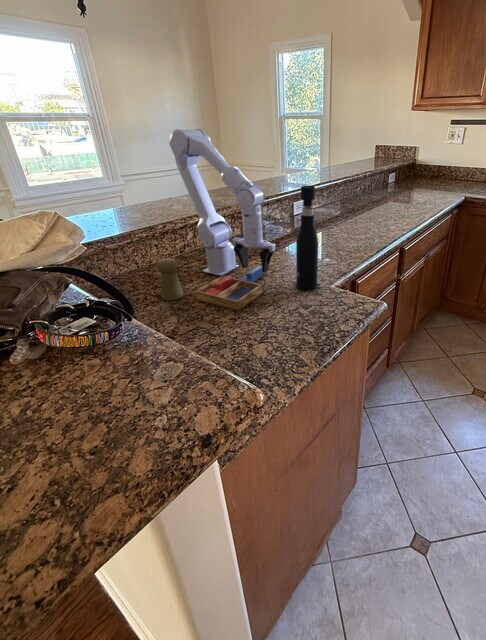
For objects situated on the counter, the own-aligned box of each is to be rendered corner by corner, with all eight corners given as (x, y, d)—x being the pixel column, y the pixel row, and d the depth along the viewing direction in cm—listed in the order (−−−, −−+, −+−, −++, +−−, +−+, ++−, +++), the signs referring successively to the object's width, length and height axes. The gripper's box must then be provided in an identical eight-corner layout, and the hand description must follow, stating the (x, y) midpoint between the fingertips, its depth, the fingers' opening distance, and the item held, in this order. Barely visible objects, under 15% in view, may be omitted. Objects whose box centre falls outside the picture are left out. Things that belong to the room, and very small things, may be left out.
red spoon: (225, 283, 108) (224, 274, 107) (237, 286, 107) (236, 277, 105) (202, 297, 100) (201, 287, 99) (214, 300, 98) (213, 291, 97)
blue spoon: (254, 273, 117) (254, 265, 116) (266, 276, 115) (265, 267, 114) (236, 285, 109) (235, 276, 107) (248, 288, 107) (247, 279, 106)
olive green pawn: (176, 301, 99) (170, 264, 94) (157, 299, 100) (149, 262, 95) (187, 292, 104) (181, 257, 99) (168, 290, 105) (162, 255, 100)
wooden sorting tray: (223, 283, 110) (222, 275, 109) (262, 292, 104) (262, 284, 103) (196, 299, 100) (195, 291, 99) (238, 310, 95) (237, 301, 93)
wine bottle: (320, 284, 110) (323, 186, 97) (311, 292, 105) (313, 189, 92) (302, 280, 113) (302, 184, 100) (292, 288, 107) (291, 187, 94)
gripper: (224, 227, 106) (228, 269, 112) (266, 234, 100) (268, 277, 106) (238, 222, 112) (241, 262, 118) (278, 228, 106) (279, 269, 112)
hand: (255, 269), depth 112 cm, fingers open, 7 cm apart
